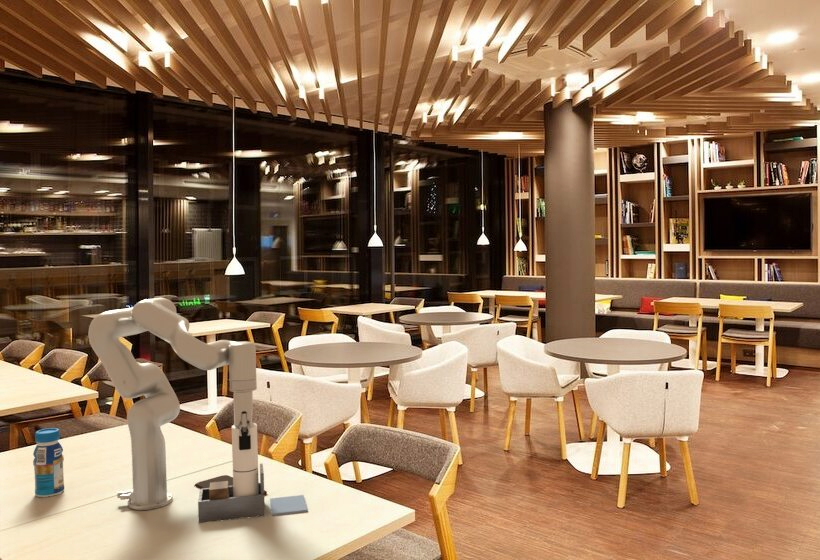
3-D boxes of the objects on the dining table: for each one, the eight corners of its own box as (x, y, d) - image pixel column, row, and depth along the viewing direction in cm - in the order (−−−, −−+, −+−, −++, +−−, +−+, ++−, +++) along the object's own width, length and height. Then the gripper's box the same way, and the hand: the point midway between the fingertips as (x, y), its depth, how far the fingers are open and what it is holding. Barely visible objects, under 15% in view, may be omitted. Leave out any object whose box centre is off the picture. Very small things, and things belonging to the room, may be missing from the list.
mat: (272, 515, 186) (272, 513, 186) (270, 500, 198) (270, 498, 198) (307, 511, 189) (307, 509, 189) (303, 496, 201) (303, 494, 201)
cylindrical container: (228, 513, 189) (226, 427, 187) (243, 504, 195) (241, 421, 194) (249, 517, 186) (247, 429, 185) (264, 507, 192) (261, 423, 191)
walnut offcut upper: (209, 503, 185) (209, 489, 185) (210, 496, 191) (210, 482, 190) (227, 501, 186) (227, 487, 186) (228, 494, 192) (227, 480, 192)
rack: (198, 523, 182) (197, 480, 182) (200, 508, 192) (199, 468, 192) (264, 515, 187) (263, 474, 186) (263, 502, 197) (262, 462, 196)
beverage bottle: (30, 493, 207) (28, 431, 206) (59, 486, 213) (56, 425, 212) (39, 500, 201) (37, 435, 200) (69, 492, 207) (66, 430, 207)
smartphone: (226, 473, 221) (268, 490, 203) (226, 478, 221) (269, 495, 204) (192, 483, 212) (233, 501, 195) (192, 487, 212) (234, 507, 195)
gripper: (230, 380, 196) (231, 438, 197) (229, 391, 180) (231, 455, 180) (255, 378, 198) (257, 436, 199) (257, 389, 181) (259, 453, 182)
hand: (244, 445), depth 190 cm, fingers closed on cylindrical container, 7 cm apart
